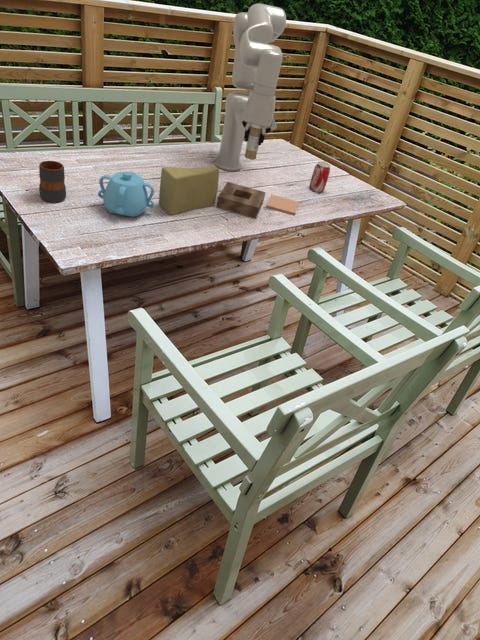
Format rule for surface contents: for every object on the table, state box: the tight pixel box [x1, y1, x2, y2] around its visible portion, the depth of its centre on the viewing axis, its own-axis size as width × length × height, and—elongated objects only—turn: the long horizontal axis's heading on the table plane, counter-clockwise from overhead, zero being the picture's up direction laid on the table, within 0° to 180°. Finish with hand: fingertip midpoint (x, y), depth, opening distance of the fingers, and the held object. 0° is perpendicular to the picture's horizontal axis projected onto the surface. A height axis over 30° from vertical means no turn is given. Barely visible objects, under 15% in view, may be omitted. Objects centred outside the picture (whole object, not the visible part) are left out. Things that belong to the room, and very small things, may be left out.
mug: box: [38, 160, 67, 204], centre depth 166 cm, size 9×12×12 cm
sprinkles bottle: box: [244, 124, 262, 160], centre depth 177 cm, size 5×5×13 cm
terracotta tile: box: [265, 194, 300, 216], centre depth 200 cm, size 12×12×1 cm
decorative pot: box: [97, 170, 155, 218], centre depth 168 cm, size 16×16×14 cm
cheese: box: [158, 165, 220, 216], centre depth 178 cm, size 22×10×15 cm, turn 125°
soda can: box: [309, 161, 331, 193], centre depth 217 cm, size 7×7×12 cm
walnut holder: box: [215, 181, 266, 219], centre depth 192 cm, size 16×16×4 cm
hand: (253, 142), depth 178 cm, fingers closed on sprinkles bottle, 4 cm apart
